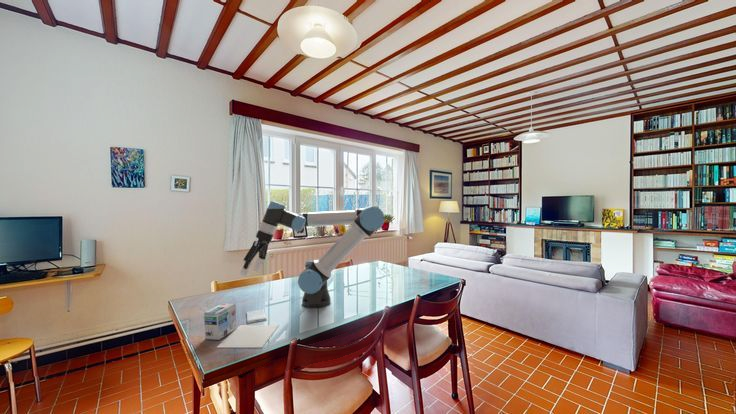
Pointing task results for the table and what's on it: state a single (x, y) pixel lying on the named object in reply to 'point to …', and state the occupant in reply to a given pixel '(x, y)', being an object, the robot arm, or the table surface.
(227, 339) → the felt mat
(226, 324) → the light bulb box
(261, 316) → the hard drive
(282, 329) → the table surface
